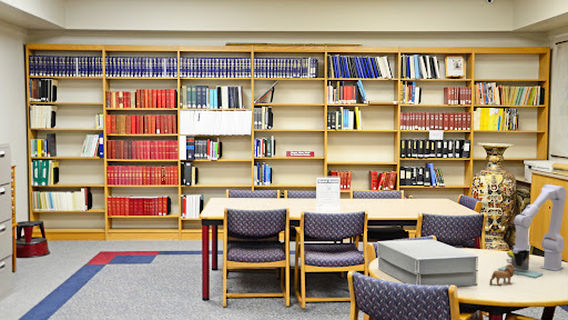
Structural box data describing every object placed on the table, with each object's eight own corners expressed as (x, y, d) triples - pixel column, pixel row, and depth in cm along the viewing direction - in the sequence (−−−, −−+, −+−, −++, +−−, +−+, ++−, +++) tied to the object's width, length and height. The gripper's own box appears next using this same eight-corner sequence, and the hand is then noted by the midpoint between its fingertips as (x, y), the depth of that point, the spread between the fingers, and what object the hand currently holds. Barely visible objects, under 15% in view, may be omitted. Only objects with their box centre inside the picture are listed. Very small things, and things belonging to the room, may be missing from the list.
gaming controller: (505, 260, 300) (525, 263, 294) (506, 251, 300) (525, 253, 294) (512, 255, 312) (531, 258, 306) (512, 245, 312) (531, 248, 306)
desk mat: (505, 267, 287) (506, 265, 287) (542, 274, 273) (542, 273, 273) (497, 270, 281) (498, 268, 281) (535, 278, 267) (535, 276, 267)
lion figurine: (507, 280, 263) (508, 262, 262) (516, 283, 258) (517, 265, 257) (486, 284, 256) (486, 265, 255) (495, 287, 251) (496, 268, 251)
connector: (509, 265, 282) (509, 256, 282) (529, 269, 275) (530, 260, 274) (506, 266, 280) (506, 257, 280) (526, 270, 272) (527, 261, 272)
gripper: (520, 235, 283) (518, 260, 284) (507, 239, 273) (506, 265, 274) (533, 237, 278) (532, 263, 279) (521, 241, 268) (520, 268, 269)
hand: (520, 264), depth 276 cm, fingers closed on connector, 3 cm apart
